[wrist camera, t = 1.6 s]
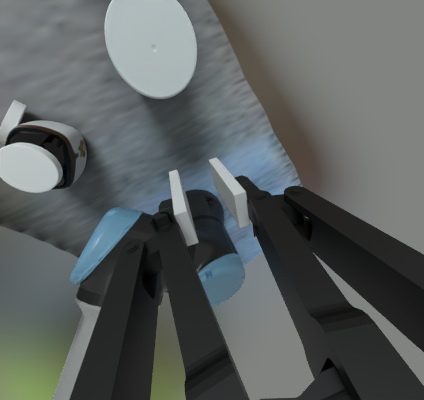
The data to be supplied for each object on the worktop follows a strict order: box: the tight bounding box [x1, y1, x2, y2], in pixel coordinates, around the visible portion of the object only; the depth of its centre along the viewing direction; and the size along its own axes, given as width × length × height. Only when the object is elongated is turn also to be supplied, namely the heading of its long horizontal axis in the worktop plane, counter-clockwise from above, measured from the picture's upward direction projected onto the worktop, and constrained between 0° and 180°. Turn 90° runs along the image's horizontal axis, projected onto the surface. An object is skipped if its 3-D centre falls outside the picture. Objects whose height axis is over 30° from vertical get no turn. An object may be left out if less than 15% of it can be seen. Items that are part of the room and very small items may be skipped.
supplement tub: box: [104, 0, 197, 99], centre depth 25 cm, size 10×10×15 cm
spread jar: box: [0, 100, 87, 193], centre depth 28 cm, size 12×11×12 cm
